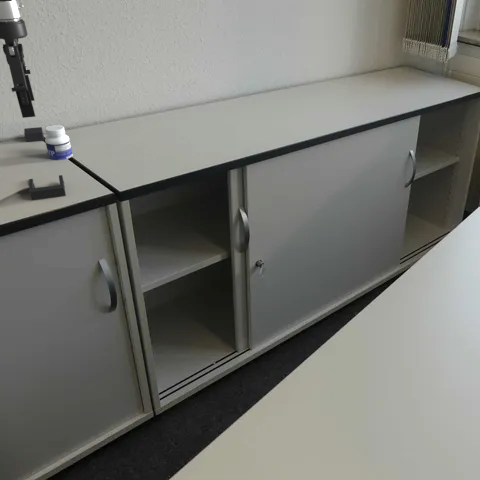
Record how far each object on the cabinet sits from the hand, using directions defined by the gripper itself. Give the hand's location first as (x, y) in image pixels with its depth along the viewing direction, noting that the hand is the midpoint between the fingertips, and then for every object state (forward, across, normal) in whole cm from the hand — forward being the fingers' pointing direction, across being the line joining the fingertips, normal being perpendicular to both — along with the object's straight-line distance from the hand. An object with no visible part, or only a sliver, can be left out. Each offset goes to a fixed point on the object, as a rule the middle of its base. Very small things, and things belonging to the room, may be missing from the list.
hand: (28, 108), depth 137 cm
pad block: (+10, 0, 0) cm, 10 cm away
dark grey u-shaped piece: (+10, -30, -1) cm, 31 cm away
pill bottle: (+10, -14, -5) cm, 18 cm away
